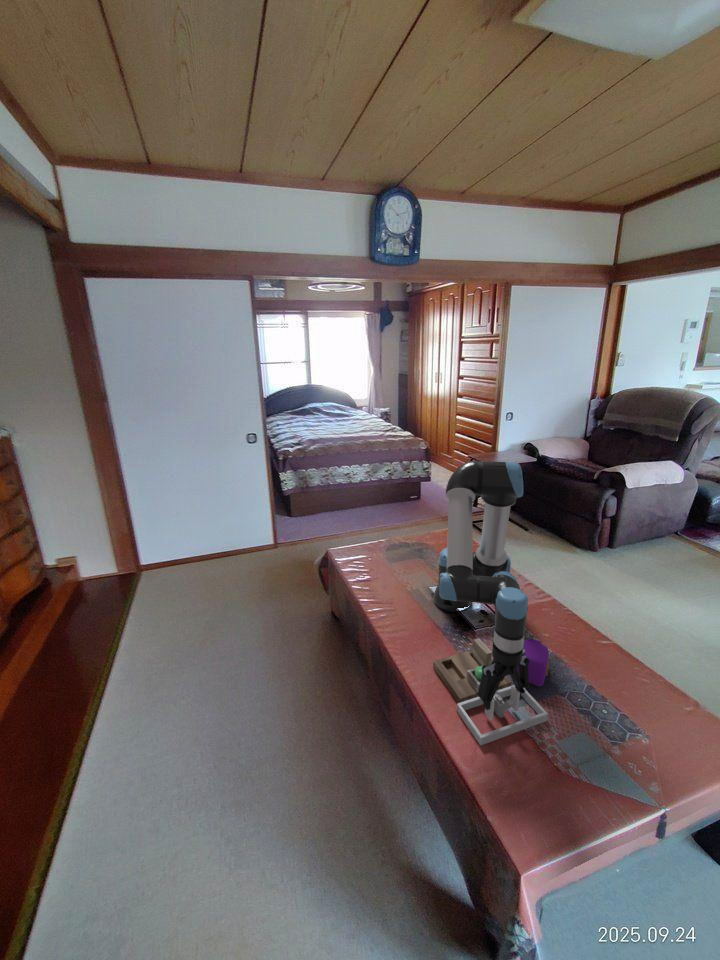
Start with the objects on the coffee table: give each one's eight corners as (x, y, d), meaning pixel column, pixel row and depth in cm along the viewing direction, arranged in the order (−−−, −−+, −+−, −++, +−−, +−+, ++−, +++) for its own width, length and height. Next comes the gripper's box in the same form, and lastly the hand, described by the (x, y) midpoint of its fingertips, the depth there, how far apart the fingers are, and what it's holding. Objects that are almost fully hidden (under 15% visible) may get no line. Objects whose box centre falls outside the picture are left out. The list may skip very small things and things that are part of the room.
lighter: (490, 707, 118) (491, 685, 115) (494, 705, 118) (496, 683, 116) (507, 726, 111) (509, 703, 109) (512, 724, 112) (514, 701, 110)
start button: (482, 674, 125) (483, 664, 124) (489, 682, 122) (490, 673, 121) (472, 677, 124) (472, 667, 123) (479, 686, 121) (479, 676, 120)
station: (480, 653, 138) (481, 632, 136) (511, 688, 124) (513, 665, 121) (433, 667, 133) (433, 645, 130) (459, 705, 118) (461, 682, 116)
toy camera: (545, 659, 135) (548, 634, 132) (549, 690, 123) (553, 663, 120) (511, 652, 138) (513, 628, 135) (511, 682, 126) (514, 656, 123)
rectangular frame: (518, 689, 123) (519, 683, 123) (547, 720, 113) (548, 713, 112) (456, 710, 117) (456, 703, 116) (480, 745, 106) (480, 738, 106)
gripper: (529, 626, 114) (522, 691, 121) (466, 644, 108) (462, 712, 115) (549, 644, 107) (540, 711, 114) (483, 664, 101) (477, 734, 108)
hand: (501, 711), depth 114 cm, fingers open, 8 cm apart
